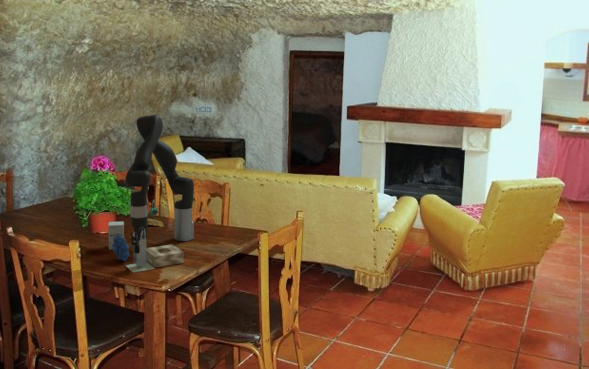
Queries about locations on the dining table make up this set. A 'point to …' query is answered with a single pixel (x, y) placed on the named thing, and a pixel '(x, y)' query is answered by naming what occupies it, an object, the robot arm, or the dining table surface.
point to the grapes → (120, 247)
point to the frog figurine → (153, 212)
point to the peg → (141, 254)
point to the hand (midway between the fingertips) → (139, 250)
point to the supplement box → (115, 231)
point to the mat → (139, 267)
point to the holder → (164, 255)
